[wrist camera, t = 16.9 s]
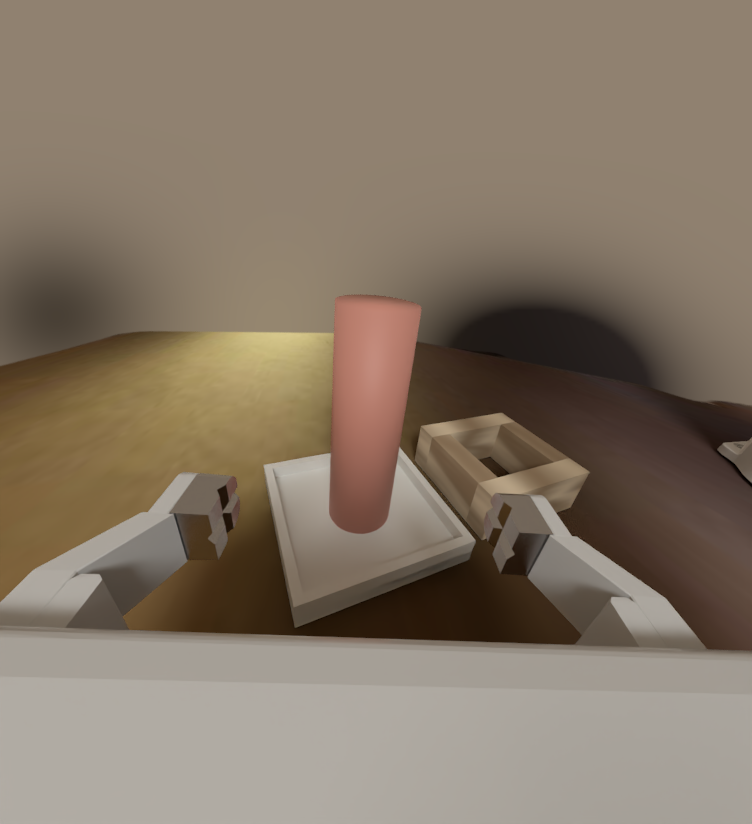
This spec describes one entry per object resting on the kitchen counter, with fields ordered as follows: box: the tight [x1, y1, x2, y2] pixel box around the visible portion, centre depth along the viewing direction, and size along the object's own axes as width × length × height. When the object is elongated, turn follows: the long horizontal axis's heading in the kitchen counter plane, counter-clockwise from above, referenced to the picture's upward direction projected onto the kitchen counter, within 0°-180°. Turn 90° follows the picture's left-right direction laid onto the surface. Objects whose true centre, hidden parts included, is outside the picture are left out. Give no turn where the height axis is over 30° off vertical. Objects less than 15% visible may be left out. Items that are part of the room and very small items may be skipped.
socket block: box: [415, 413, 589, 540], centre depth 28 cm, size 10×10×4 cm
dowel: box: [329, 295, 422, 534], centre depth 20 cm, size 4×4×15 cm
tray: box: [264, 447, 476, 628], centre depth 24 cm, size 12×12×2 cm
